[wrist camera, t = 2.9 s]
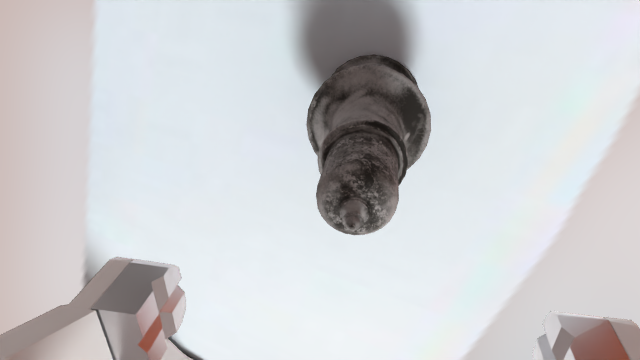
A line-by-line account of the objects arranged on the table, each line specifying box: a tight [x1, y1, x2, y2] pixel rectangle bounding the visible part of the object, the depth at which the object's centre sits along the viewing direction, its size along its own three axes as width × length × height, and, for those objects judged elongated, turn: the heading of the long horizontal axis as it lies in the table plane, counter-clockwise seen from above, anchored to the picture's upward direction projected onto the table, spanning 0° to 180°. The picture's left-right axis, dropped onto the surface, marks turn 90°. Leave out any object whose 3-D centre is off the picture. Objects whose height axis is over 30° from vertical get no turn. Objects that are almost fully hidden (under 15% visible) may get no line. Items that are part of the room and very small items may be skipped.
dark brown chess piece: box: [307, 55, 431, 235], centre depth 18 cm, size 6×6×12 cm
